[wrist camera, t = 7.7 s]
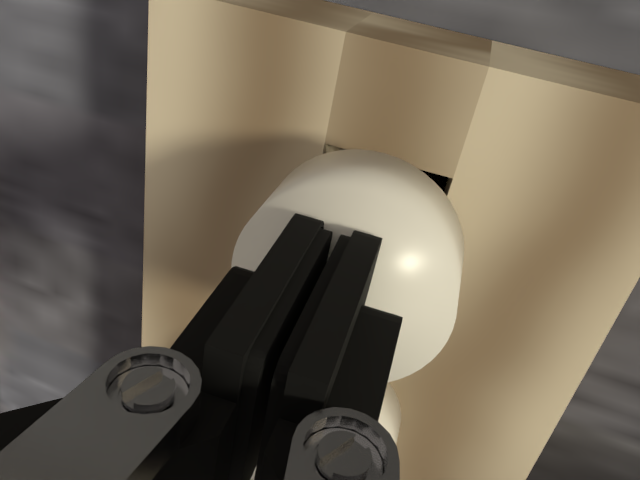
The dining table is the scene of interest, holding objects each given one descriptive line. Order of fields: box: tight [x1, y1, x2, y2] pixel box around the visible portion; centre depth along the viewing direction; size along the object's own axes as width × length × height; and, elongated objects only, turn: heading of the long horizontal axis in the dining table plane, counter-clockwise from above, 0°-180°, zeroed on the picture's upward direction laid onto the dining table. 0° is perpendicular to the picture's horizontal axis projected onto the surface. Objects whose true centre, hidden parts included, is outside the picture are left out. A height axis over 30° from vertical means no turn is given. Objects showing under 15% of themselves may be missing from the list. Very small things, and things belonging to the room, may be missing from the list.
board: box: [142, 0, 640, 480], centre depth 20 cm, size 12×26×3 cm, turn 170°
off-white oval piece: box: [231, 149, 464, 383], centre depth 13 cm, size 4×4×5 cm
